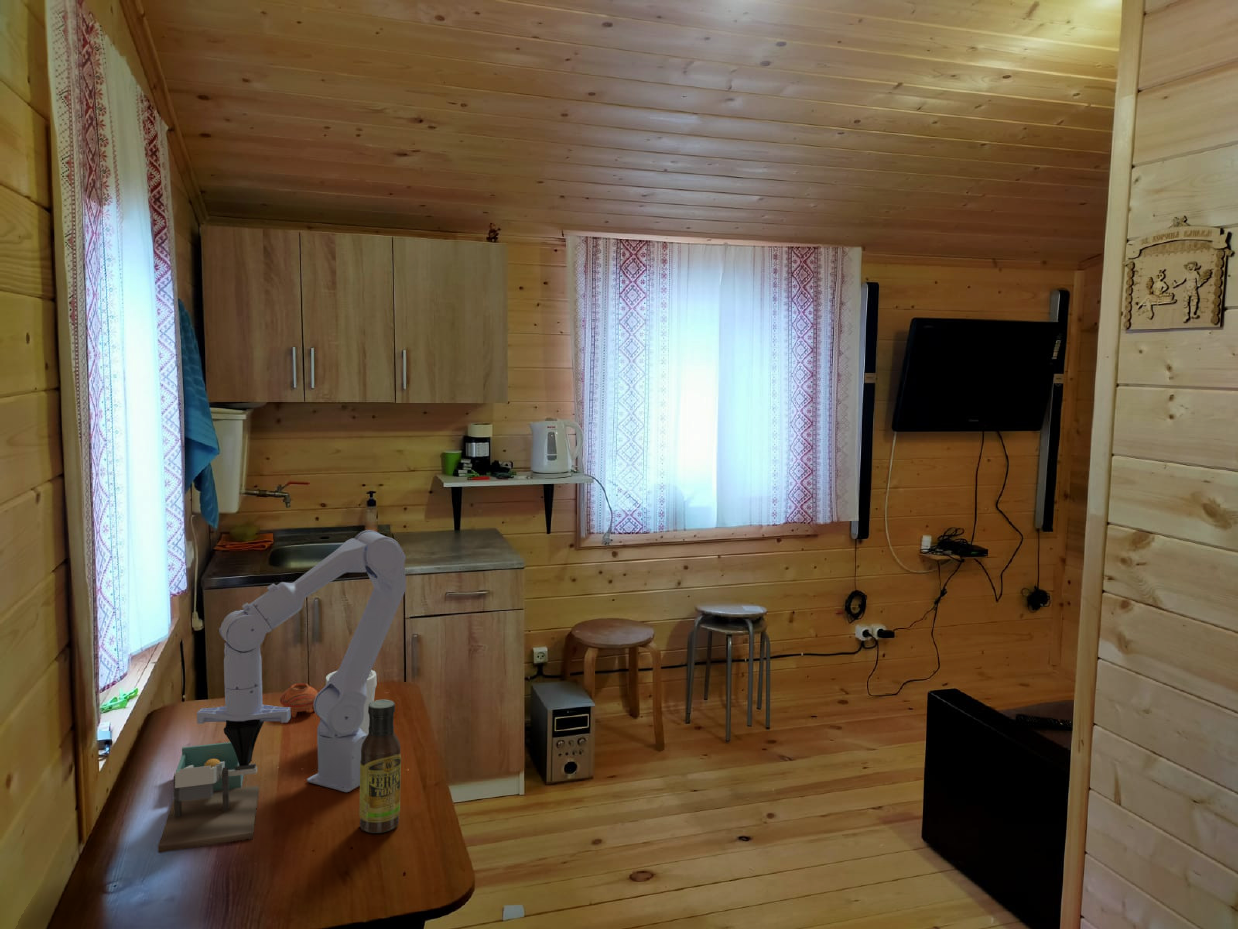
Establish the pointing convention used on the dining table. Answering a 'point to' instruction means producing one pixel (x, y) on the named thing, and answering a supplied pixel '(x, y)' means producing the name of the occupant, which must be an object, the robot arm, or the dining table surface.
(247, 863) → the dining table surface
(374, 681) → the foam cup
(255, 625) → the robot arm
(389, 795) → the sauce bottle
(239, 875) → the dining table surface
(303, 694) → the pot
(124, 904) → the dining table surface
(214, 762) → the ball
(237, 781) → the teal open box
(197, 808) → the stand
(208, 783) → the tray
